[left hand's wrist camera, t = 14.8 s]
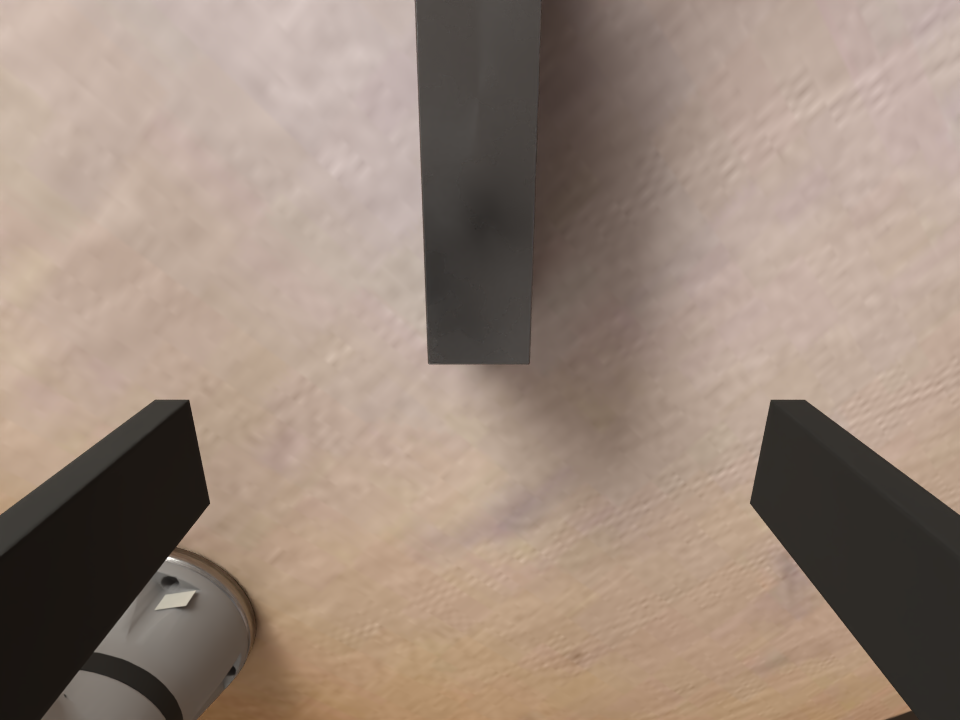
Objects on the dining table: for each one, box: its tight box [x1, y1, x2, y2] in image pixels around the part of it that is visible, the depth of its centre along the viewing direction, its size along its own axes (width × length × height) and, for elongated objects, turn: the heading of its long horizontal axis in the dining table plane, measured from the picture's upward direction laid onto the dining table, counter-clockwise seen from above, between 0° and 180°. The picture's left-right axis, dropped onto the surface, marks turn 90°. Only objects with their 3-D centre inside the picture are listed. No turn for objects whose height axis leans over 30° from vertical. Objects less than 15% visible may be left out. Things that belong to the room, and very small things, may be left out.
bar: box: [415, 0, 542, 364], centre depth 29 cm, size 26×5×9 cm, turn 0°
